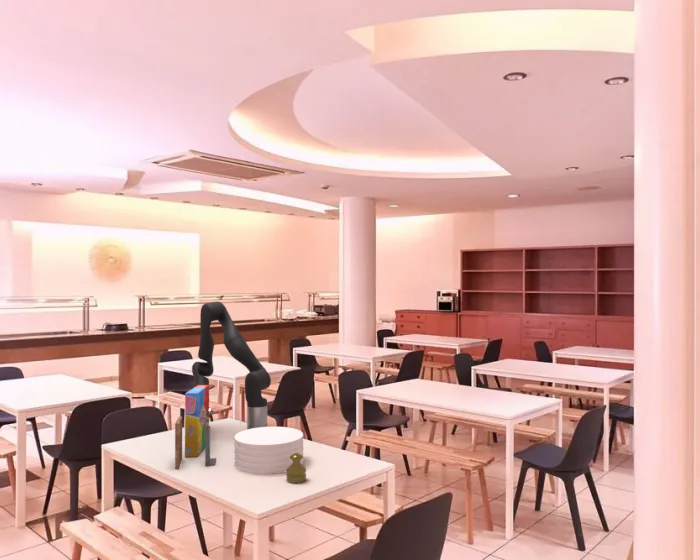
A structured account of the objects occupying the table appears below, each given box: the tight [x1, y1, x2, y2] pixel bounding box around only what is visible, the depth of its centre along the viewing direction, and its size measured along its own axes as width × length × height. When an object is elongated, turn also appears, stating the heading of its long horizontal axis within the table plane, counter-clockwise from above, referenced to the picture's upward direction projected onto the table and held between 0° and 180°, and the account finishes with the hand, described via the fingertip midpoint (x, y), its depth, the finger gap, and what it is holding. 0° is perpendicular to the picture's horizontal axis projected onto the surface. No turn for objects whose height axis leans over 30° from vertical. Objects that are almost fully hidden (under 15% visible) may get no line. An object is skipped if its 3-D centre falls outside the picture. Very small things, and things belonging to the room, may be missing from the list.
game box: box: [184, 384, 210, 458], centre depth 246 cm, size 21×6×27 cm, turn 1°
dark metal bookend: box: [204, 425, 217, 467], centre depth 229 cm, size 4×8×14 cm, turn 11°
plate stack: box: [233, 426, 304, 475], centre depth 229 cm, size 28×28×12 cm
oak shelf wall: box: [174, 416, 183, 470], centre depth 227 cm, size 2×12×18 cm, turn 11°
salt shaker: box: [285, 453, 307, 484], centre depth 208 cm, size 7×7×10 cm
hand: (198, 428), depth 257 cm, fingers closed
